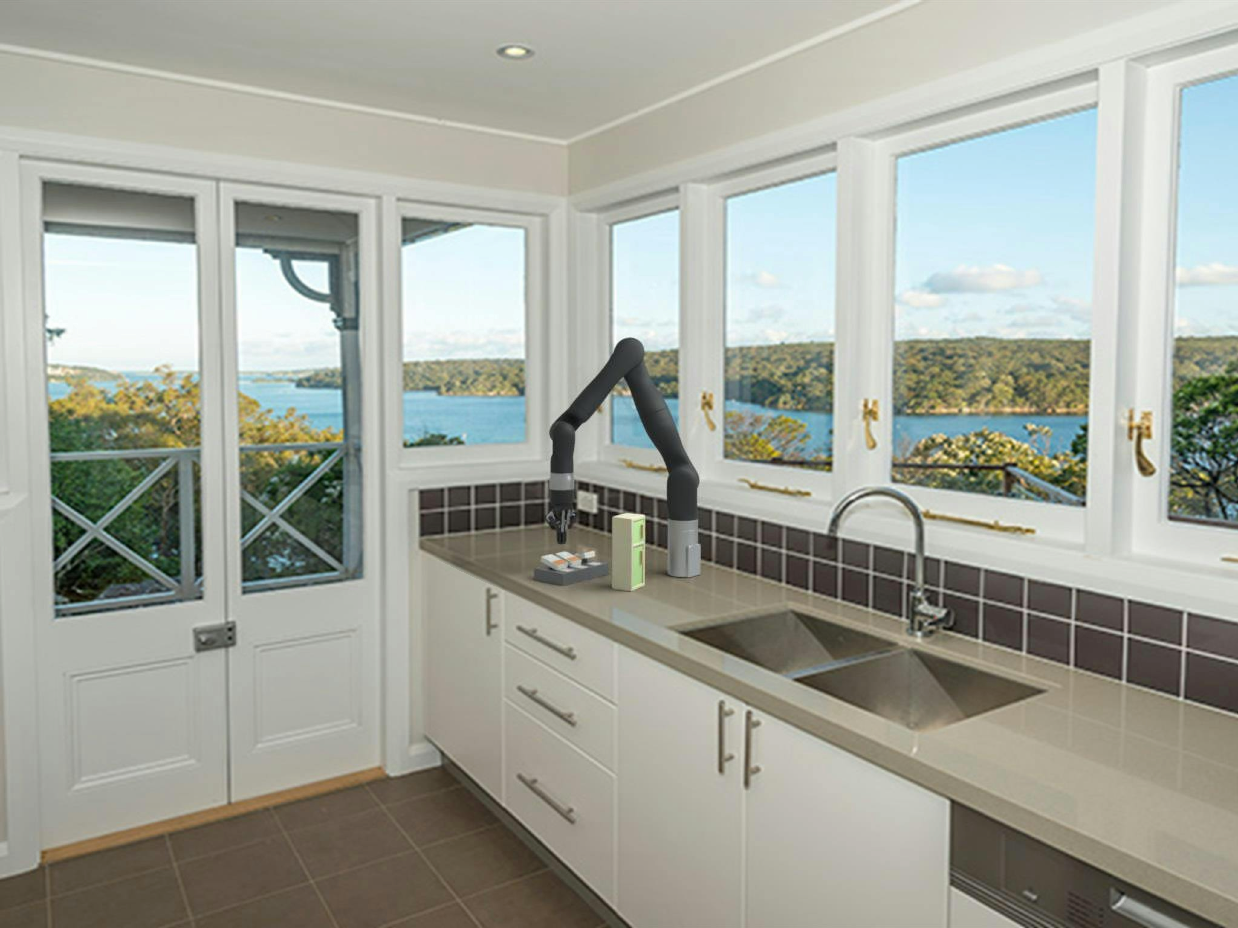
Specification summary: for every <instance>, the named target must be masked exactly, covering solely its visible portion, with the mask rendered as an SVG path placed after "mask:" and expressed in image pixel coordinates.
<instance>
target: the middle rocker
mask: <svg viewBox="0 0 1238 928" xmlns="http://www.w3.org/2000/svg"><path fill="white" fill-rule="evenodd" d="M554 556H556V557H558V558H560V559H561V560H563V561H565V562H567V563H568V566H570V567H574V566H578V565H581V562H582V560H581V559H579V558H577V557H575V556H574V554H572V553H570V552H568V551H561V552H560V551H559V552H556V553H555V555H554Z"/></svg>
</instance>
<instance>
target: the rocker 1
mask: <svg viewBox="0 0 1238 928" xmlns="http://www.w3.org/2000/svg"><path fill="white" fill-rule="evenodd" d="M540 562H541V563H543V564H545V566H546V565H548V566H550V567H551V568H553V569H555V570H561V569H565V568H567V566H568V563H567V562H565V561H563V560H561V559H560V558H558V557H556V556H555V555H554V554H552V553H550V554H546V555H542V556H541V557H540Z"/></svg>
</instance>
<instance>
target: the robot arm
mask: <svg viewBox="0 0 1238 928" xmlns="http://www.w3.org/2000/svg"><path fill="white" fill-rule="evenodd" d="M612 352H613V353H612V354H611V355H610V357H609V358H608V360H607V362H606V363H605V364H604V366H603V368H602V369H601V370H600V371H599V373H597V375H596V376H595V377H594V378H592V380H591V381H590V382H589V383H588V384H587V385H586V387H584V388H583V390H582V391H581V392H580V393H579V394H578V395H577V396H576V398H575V399H574V400H573V401H572V402H571V404H570V405H569V406H568V408H567V409H566V410H565V411H563V412H562V414H560V416H559V417H558V418H556V419H555V420H554V422H553V423H552V424H551V426H550V428H549V431H548V434H549V438H550V439H551V440H552V447H551V448H552V454H551V456H550V460H549V461H550V463H549V464H550V473H549V483H548V484H549V485H548V486H549V492H548V493H549V496H548V497H549V503H550V509H549V510H550V512H549V513H548V514H545V515H544V516H543V517H544V520H545V521H546V522H547V524H548V526H549V528H550V529H551V531H554V532H556V543H557V544H558V545H565V544H567V539H568V538H567V536H568V535H567V532H568V530H571V529H572V528H573V526H574V525H575V522H576V520H577V518H578V517H579V513H580V512H579V511H576V510H575V509H574V506H573V503H574V502H575V476H574V475H575V474H574V473H575V472H574V470H575V469H574V468H575V467H574V454H575V453H574V452H575V447H576V446H575V445H576V432H577V430H578V429H579V428H580V427H581V426H582V425H584V423H586V422H588V421H589V420H590V419H591V418H592V416H593V415H594V414H595V413H596V412H597V410H598V409H599V408H600V407H601V406H602V404H603V403H604V402H605V400H606V399H607V397H608V396H609V394H610V393H611V392H612V391H613V389H614V388H615V387H616V385H617V384H618V383H619V382H620V381H621V379H624V380H625V382H626V385H627V386H628V388H629V391H630V394H631V398H632V400H633V403H634V407H635V409H636V411H637V414H638V417H639V419H640V421H641V424H642V426H643V429H644V431H645V433H646V434H647V436H648V438H649V439H650V441H651V442H652V444H653V445H654V447H655V448H656V450H657V451H658V453H659V455H660V456H661V458H662V460H663V462H664V465H665V467H666V471H667V473H668V476H667V479H666V510H667V575H669V576H671V577H675V578H677V577H678V578H692V577H696V576H699V575H701V560H702V559H701V551H702V550H701V549H702V548H701V547H702V546H701V543H699V510H698V488H699V487H700V486H699V485H700V476H699V473H698V471H697V469H696V467H695V466H694V464H693V463H692V461H691V459H690V457H689V455H688V454H687V451H686V450H685V447H684V444H683V443H682V440H681V437H680V433H679V431H678V428H677V426H676V423H675V420H674V418H673V415H672V412H671V410H670V409H669V405H668V403H667V402H666V401H665V398H664V397H663V395H662V393H661V392H660V390H659V389H658V387H657V386H656V385H655V383H654V381H653V380H652V378H651V376H650V373H649V371H648V369H647V365H646V362H645V359H644V358H645V354H646V353H645V352H646V351H645V347H644V345H643V343H642V341H640V340H639V339H638V338H635V337H631V336H630V337H625V338H622V339H621V340H619V341H618V342H617V343H616V345H615V347H614V348H613V351H612Z"/></svg>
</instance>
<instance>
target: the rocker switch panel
mask: <svg viewBox="0 0 1238 928" xmlns="http://www.w3.org/2000/svg"><path fill="white" fill-rule="evenodd" d="M581 560H582V562H581V565H578V566H574V567H570V566H567V568H565V569H561V570H555V569H553V568H551V567H550V566H548V565H546V564H545V565H543V566H542V565H541V566H537V567H535V568H533V576H534V577H533V580H535V581H539V582H542V583H547V584H552V585H557V586H563V587H564V586H568V585H571V584H572V585H573V584H575V583H580V582H583V581H587V580H591V579H595V578H600V577H603V576H604V577H605V576H608V575H610V573H609V570H610V565H609V562H604V561H599V560H593V559H589V558H585V559H581Z"/></svg>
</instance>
